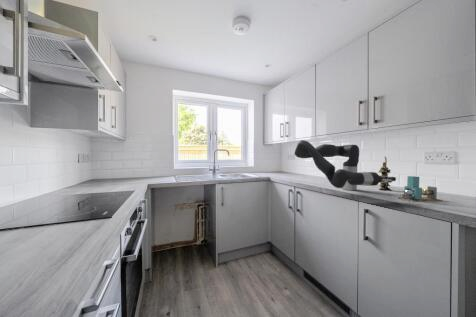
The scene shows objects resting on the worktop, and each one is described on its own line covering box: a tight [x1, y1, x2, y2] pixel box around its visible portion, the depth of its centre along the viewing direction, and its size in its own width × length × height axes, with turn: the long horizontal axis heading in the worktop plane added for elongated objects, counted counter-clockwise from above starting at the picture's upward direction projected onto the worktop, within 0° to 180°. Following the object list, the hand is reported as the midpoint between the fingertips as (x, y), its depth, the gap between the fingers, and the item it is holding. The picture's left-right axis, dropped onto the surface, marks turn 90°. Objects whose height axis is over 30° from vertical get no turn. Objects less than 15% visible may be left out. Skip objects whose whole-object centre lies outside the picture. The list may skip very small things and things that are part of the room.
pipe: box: [401, 186, 438, 200], centre depth 111 cm, size 18×4×7 cm, turn 97°
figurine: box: [378, 156, 392, 192], centre depth 142 cm, size 6×10×25 cm
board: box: [397, 196, 443, 202], centre depth 111 cm, size 20×8×1 cm, turn 97°
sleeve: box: [403, 175, 423, 199], centre depth 110 cm, size 4×6×12 cm, turn 7°
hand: (394, 178), depth 109 cm, fingers closed
